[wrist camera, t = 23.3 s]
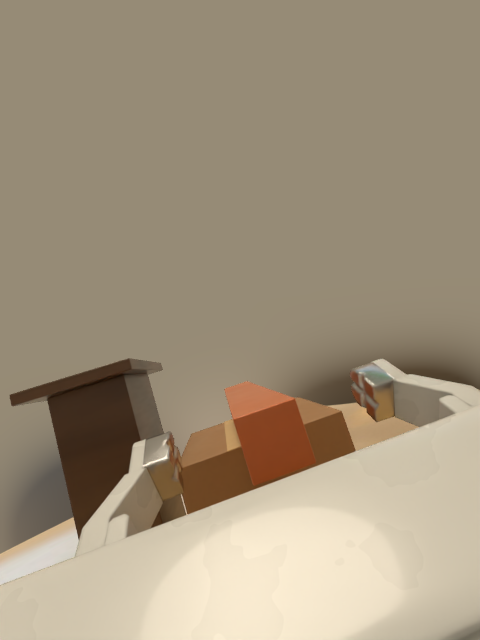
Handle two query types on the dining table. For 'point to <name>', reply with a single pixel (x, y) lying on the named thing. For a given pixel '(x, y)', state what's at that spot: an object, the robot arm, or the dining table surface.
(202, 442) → the carton
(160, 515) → the stand
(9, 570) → the dining table surface
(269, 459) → the bar
